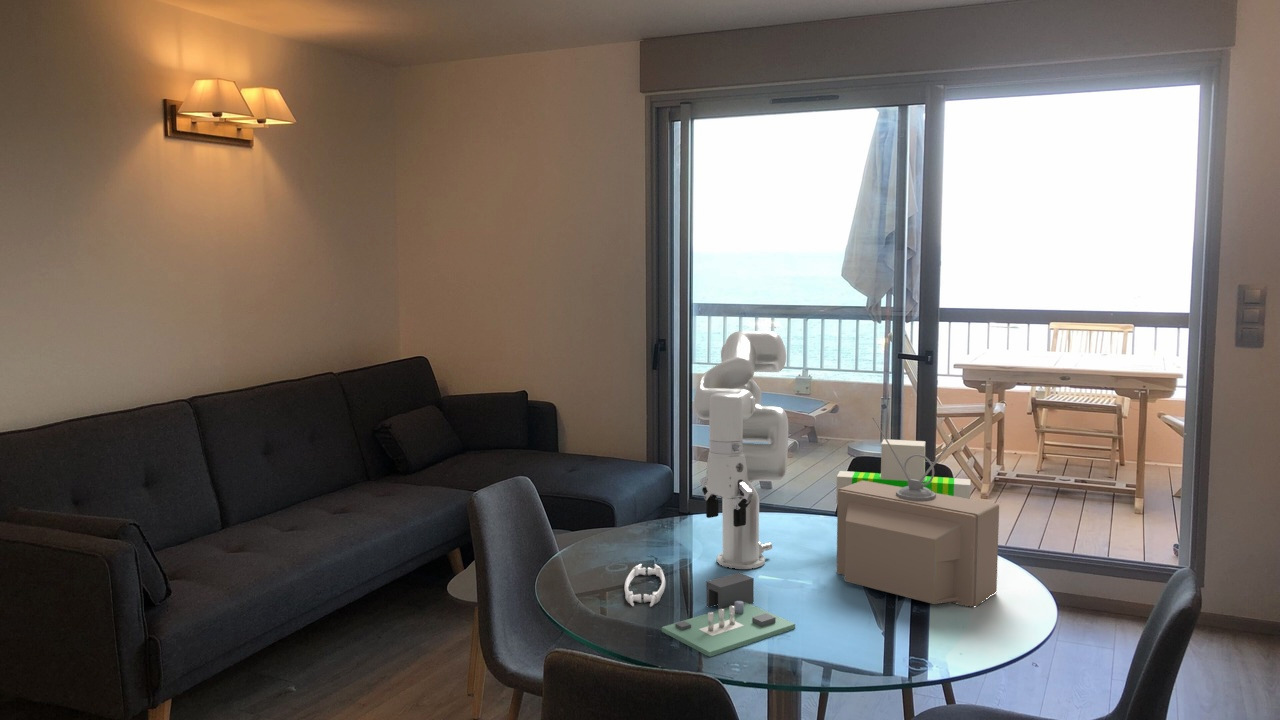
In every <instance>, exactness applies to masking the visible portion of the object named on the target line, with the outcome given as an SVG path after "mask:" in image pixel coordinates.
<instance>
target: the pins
mask: <svg viewBox="0 0 1280 720" xmlns="http://www.w3.org/2000/svg"><path fill="white" fill-rule="evenodd" d="M713 612H714V611H708V612H707V613H708V631H709V632H713V631H714V613H713ZM729 624H730V625H735V606H733V605H731V606H729ZM719 628H724V609H719Z"/></svg>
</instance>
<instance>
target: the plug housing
mask: <svg viewBox="0 0 1280 720" xmlns="http://www.w3.org/2000/svg"><path fill="white" fill-rule="evenodd" d="M705 585H706V590H705V591H706V593H705V595H706V600H705V601H706V603H705V604H706V606H705V607H707V606H708V607H707V608H711V606H712V607H715V606H714V605H716V606H717V610H719V609H724V608H727V607H729V606H731V605H733V606H734V602H735V601H742V602H746V603H748V604H750V603H752V604H754V603H753V602H754V601H755V600H754V597H755V596H754V594H755V593H754V589H755V588H754V587H755V586H754V585H755V584H754V577H752V576H749V575H747V574H745V573H743V572H736V573H732V574H729V575H724V576H720V577H718V578H714V579H710V580H707V581H706V582H705ZM717 604H718V605H717Z"/></svg>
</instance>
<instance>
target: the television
mask: <svg viewBox="0 0 1280 720" xmlns="http://www.w3.org/2000/svg"><path fill="white" fill-rule="evenodd" d="M871 418H872V420H873V421H874V423H875V424H876V426H877V428H878V429H879V432H880V434H881V435H882V437H883V438H884V439H885V440H886V442H887V443H888V445H889V446H890V448H891V451H892V452H893V454H894V456H895V458H896V459H897V461H898V463H899V465H900V466H901V468H902V470H903V471H904V473H905V476H906V478H907V479H908V486H906V487H898V486H892V485H886V484H880V483H875V482H869V481H860V482H857V483H854V484H851V485H849V486H846V487H843V488H840V489H838V504H837V509H836V510H837V513H836V514H837V517H836V518H837V522H836V523H837V524H836V526H837V528H836V530H837V531H836V532H837V533H836V573H837V574H839V575H842V576H844V581H845V582H846V583H850V584H854V585H859V586H862V587H867V588H870V589H874V590H877V591H881V592H886V593H890V594H893V595H897V596H901V597H905V598H909V599H912V600H916V601H921V602H924V603H928V604H932V605H937V604H944V603H952V604H953V603H954V604H956V603H957V604H956V605H960V604H962V605H961V606H964V605H965V607H968V606H970V608H972V607H971V606H977V605H978V604H980V603H981V602H982V601H984V600H986V598H988V597H989V596H990V595H992V594H994V593H995V592H996V591H997V584H998V580H997V579H998V561H999V560H998V558H999V557H998V554H999V525H1000V522H999V521H1000V504H998V503H995V502H989V501H983V500H977V499H972V498H970V499H967V498H961V497H955V496H950V495H944V494H938V493H934V492H933V491H931V490H929V489H928V488H926V487H923V486H926V485H928V484H929V483H930V482H931V481H932V479H933V478H934V477H935V468H934V466H935V465H936V464H937V463H938V461H939V460H940V459H941V457H942V456H943V454H944V453H945V452H946V451H947V450H948V449H949V447H950V446H951V444H952V443H953V442H954V441H955V440H956V438H957V437H958V436H959V435H960V433H961V432H962V431H963V430H964V428H963V427H962V428H961V429H960V430H959V432H958V433H957V434H956V435H955V436H954V437H953V438H952V439H951V440H950V442H948V444H947V446H946V447H945V448H944V449H943V450H942V451H941V453H940V454H939V455H938V456H937V457H936V458H935V460H934V461H933V463H932V461H931V460H930V459H929V457H927V456H926V455H925V456H923V455H920V454H914V455H911V456H910V457H909V458H907V460H906V461H905V463H904V467H903V465H902V463H901V461H900V460H899V458H898V456H897V455H896V453H895V451H894V449H892V447H891V445H890V444H889V442H888V440H887V439H888V438H887V437H886V436H885V433H884V432H883V431H882V429H881V428H880V426H879V424H878V423H877V422H876V420H875V417H871ZM915 456H920V457H923V458H925V461H927V462H928V464H929V465H930V466H929V467H928V468H927V470H925V474H924V475H923V476H922V478H921V479H920V480H915V479H910V477H909V475H908V474H907V472H906V464H907V462H908V460H909V459H911V458H912V457H915ZM930 472H931V476H930V477H931V478H930V480H929V481H928V482H927V483H925V484H922V480H923V479H924V478H925V477H926V476H928V475H929V473H930ZM996 593H997V592H996ZM986 601H987V600H986ZM984 602H985V601H984ZM981 604H982V603H981ZM981 604H980V605H981ZM978 606H979V605H978ZM978 606H977V607H978Z"/></svg>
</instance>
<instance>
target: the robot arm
mask: <svg viewBox="0 0 1280 720" xmlns="http://www.w3.org/2000/svg"><path fill="white" fill-rule="evenodd" d="M720 359H721V362H719V363H717V364H716V365H715V366H713V367H711V368H710V369H708V370H707V371H705V372H704V373H703V374H702V375H701V377H700V378H699V380H698V382H697V385H696V389H695V392H694V397H693V411H694V413H695V415H696V417H698V418H699V419H700V420H705V421H708V422H709V423H708V425H709V430H708V431H709V432H708V433H709V439H708V440H709V441H708V442H709V450H708V455H707V462H706V472H705V473H706V475H705V476H704V477H702V478H700V484H701V488H702V490H701V491H702V493H703V494H704V500H705V501H706V502H705V503H706V504H705V507H706V508H705V513H706V514H705V516H706V518H708V519H710V518H716V517H718V516H719V499H718V497H719V498H721V499H722V552H721V553H719V554H718V555H717V556H716V563H717V562H718V563H719V565H720V566H721V565H722V567H724V566H725V567H724V568H727V567H729V569H732V568H735V569H734V570H751V569H752V568H753V569H757V568H760V567H762V566H763V565H765V562H766V559H765V558H766V557H765V556H764V555H763V554H764V552H765V551H771V550H772V549H773V544H772V543H771V542H770V541H769V542H765V543H762V542H761V541H760V497H759V494H758V492H757V490H756V488H755V487H754V485H753V484H752V483H751V482H754V481H755V482H756V481H758V482H779V481H782V480H784V478H785V476H787V475H786V474H787V470H788V453H789V452H788V450H789V448H788V447H789V418H788V414H787V412H786V411H785V409H783V408H782V407H779V406H772V405H770V406H768V405H765V406H764V405H761V404H762V390H761V388H760V386H759V385H758V384H757V382H756V381H755V380H754V379H753V377H754V374H755V373H779V372H781V371H783V369H784V368H785V366H786V362H787V350H786V346H785V344H784V341H783V338H782V337H781V336H780V334H778V333H777V332H775V331H771V330H739V331H738V330H737V331H735V332H733V333H730V335H728V337H727V338H726V341H725V343H724V344H723V345H722V347H721V351H720ZM750 481H751V482H750Z"/></svg>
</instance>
